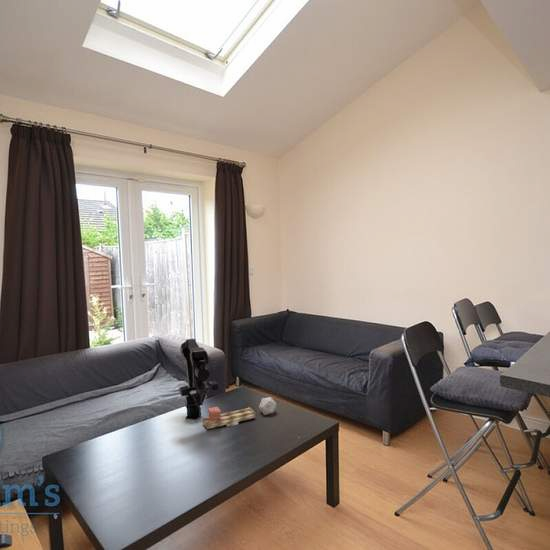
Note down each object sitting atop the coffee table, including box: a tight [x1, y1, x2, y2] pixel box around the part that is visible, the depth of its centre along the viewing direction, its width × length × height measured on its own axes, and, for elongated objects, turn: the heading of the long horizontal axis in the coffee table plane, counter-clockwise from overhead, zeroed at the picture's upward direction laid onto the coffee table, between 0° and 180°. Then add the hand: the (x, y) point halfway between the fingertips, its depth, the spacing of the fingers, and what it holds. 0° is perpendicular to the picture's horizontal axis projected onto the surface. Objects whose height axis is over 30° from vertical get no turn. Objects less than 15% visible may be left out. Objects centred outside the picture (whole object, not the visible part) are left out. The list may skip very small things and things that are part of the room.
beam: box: [202, 406, 256, 430], centre depth 187 cm, size 26×10×4 cm, turn 117°
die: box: [258, 396, 277, 416], centre depth 196 cm, size 8×9×10 cm
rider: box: [207, 406, 222, 421], centre depth 183 cm, size 5×6×5 cm
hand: (199, 405), depth 179 cm, fingers closed
